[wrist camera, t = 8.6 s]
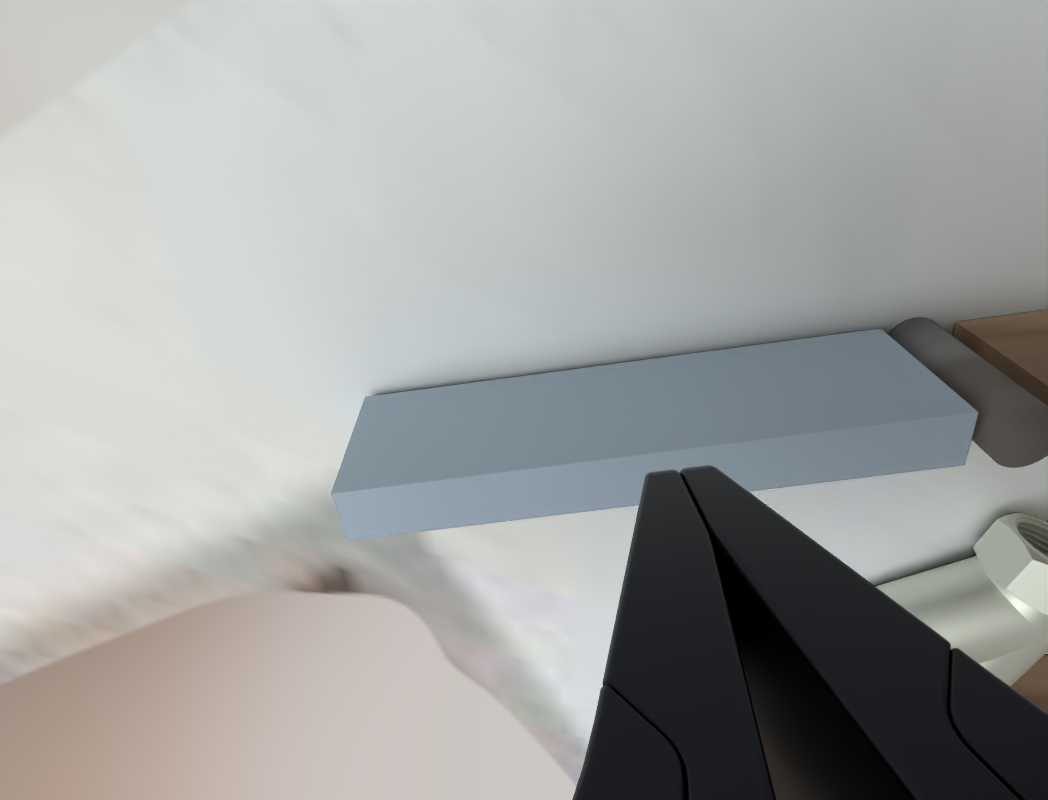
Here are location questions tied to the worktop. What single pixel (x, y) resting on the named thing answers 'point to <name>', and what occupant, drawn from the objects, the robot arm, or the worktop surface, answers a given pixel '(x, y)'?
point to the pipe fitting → (989, 597)
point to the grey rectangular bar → (646, 432)
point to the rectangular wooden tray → (995, 399)
